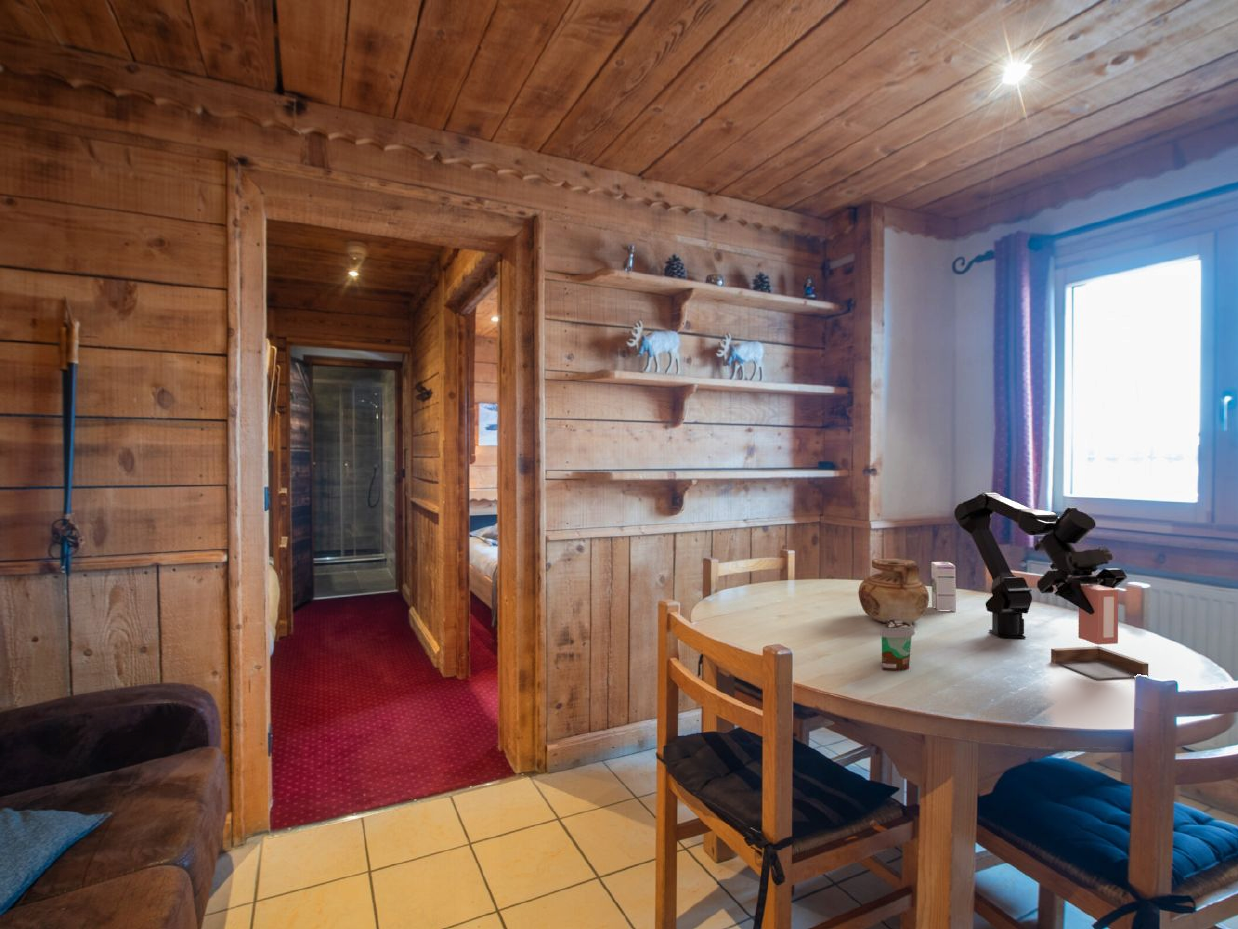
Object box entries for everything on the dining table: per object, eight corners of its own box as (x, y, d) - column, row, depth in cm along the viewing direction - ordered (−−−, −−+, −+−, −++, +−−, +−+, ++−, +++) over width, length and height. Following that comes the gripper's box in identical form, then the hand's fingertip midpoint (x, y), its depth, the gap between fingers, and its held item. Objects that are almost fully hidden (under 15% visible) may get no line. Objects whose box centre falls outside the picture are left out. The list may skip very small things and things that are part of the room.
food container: (910, 677, 139) (910, 631, 139) (881, 672, 143) (881, 627, 142) (918, 661, 150) (918, 619, 150) (890, 656, 153) (890, 615, 153)
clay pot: (840, 610, 186) (854, 545, 191) (873, 624, 197) (886, 562, 201) (903, 623, 171) (917, 552, 175) (935, 637, 181) (947, 570, 186)
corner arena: (1096, 680, 136) (1097, 666, 136) (1051, 661, 149) (1051, 648, 149) (1148, 677, 138) (1148, 663, 138) (1098, 659, 150) (1098, 646, 150)
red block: (1078, 637, 145) (1078, 585, 144) (1098, 636, 145) (1098, 584, 145) (1098, 644, 139) (1098, 590, 139) (1118, 643, 140) (1119, 589, 140)
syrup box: (956, 612, 195) (956, 565, 195) (936, 611, 196) (936, 564, 196) (950, 607, 200) (950, 561, 200) (930, 606, 202) (930, 561, 201)
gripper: (1047, 535, 145) (1087, 594, 134) (1120, 533, 147) (1166, 591, 136) (1020, 564, 153) (1057, 621, 142) (1090, 561, 155) (1131, 618, 144)
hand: (1103, 613), depth 141 cm, fingers closed on red block, 5 cm apart
